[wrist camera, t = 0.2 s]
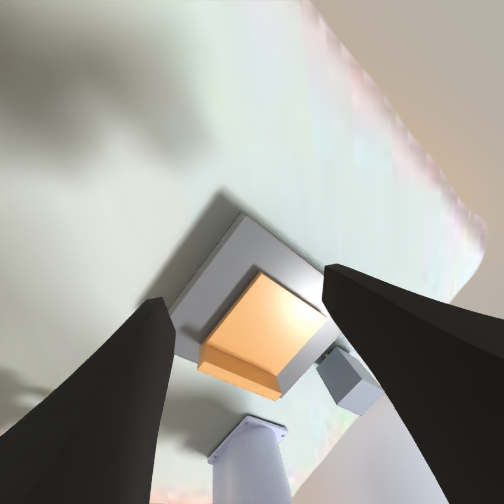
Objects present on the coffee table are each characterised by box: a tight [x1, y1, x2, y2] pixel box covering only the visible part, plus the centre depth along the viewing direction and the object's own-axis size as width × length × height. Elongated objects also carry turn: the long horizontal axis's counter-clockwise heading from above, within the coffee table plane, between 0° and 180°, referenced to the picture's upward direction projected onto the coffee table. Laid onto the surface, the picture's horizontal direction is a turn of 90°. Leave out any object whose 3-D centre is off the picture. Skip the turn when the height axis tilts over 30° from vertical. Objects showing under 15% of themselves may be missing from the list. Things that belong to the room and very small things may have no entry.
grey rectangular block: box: [316, 346, 385, 416], centre depth 23 cm, size 4×4×5 cm
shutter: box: [197, 271, 328, 401], centre depth 17 cm, size 9×8×2 cm
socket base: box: [168, 211, 342, 398], centre depth 20 cm, size 14×16×3 cm
